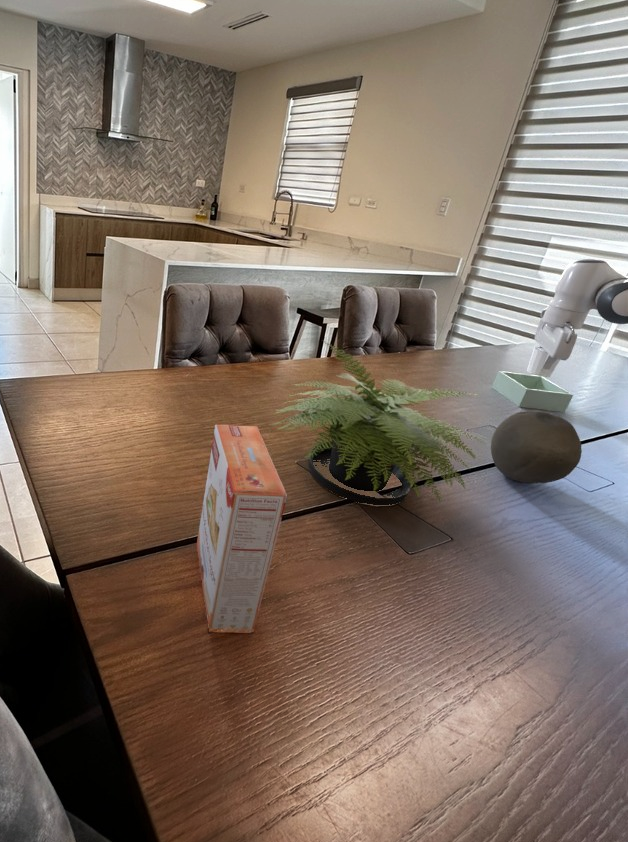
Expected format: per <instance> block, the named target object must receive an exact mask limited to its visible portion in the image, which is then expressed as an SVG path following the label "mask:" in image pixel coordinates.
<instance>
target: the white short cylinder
mask: <svg viewBox="0 0 628 842" xmlns="http://www.w3.org/2000/svg"><path fill="white" fill-rule="evenodd" d="M547 354H548V353H547V352H546V351H545V350H544V349H543V348H542V347H540V346H534V347H533V350H532V354H531V357H530V359H529V362H528V366H527V369H526V371H527V372H528V373H529V374H530V375H536V376H541V377H544V378H551V376H552V374H553V373H554V371H555V370H556V368H557V366H558V365H559V363H560V361H561V360H559V359H557V360H556V361H555V362H554V363H553V364H552V366H551V368H550V369H549V370H547V369H543V367H542V365H543V363H544V361H545V360H546V358H547Z"/></svg>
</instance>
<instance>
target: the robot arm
mask: <svg viewBox="0 0 628 842" xmlns="http://www.w3.org/2000/svg"><path fill="white" fill-rule="evenodd" d="M591 310H596V311H597V313H598V315H599V316H600V317H601V318H602V319H603V320H605V321H607V322H609V323H612V324H615V325H628V276H626V275H624V274H623V273H621V272H620V271H618V270H617V269H615V268H614V267H613V266H612V265H611V264H610V263H609V262H608V261H607V260H603V259H593V258H589V259H586V258H585V259H577V260H574V261H572V262H570V263H569V264H568V265H567V266H566V268H565V270H564V271H563V272H562V274H561V277H560V278H559V280H558V282H557V285H556V287H555V291H554V296H553V298H552V299H551V300H550V301H549V303H548V305H547V307H546V308H544V309H542V310H541V313H540V317H541V318H540V320H539V323H538V325H537V328H536V332H535V334H534V341H535V342H536V343H537V344H538V345H539V347H542V348H543V349H544V350H545V351H546V352H547V353H548V354H547V358H546V360H545V361H544V363H543V365H542V367H543V369H547V370H549V369H550V368H551V366H552V364H553V363H554V362H555V361H556V360H557V359H559V360H560V361H568V359H569V358H570V357H571V354H572V352H573V350H574V348H575V344H576V342H577V339H578V333H577V332H576V331H575V330H581V329H582V327H583V325H584V323H585V321H586V319H587V317H588V314H589V312H590V311H591Z"/></svg>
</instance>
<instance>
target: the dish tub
mask: <svg viewBox="0 0 628 842" xmlns="http://www.w3.org/2000/svg"><path fill="white" fill-rule="evenodd" d="M491 388H492V389H494V390H495V391H496V392H497V393H499V394H500V395H502V396H503V397H505V398H506V399H507V400H509V401H511V403H512V404H514V405H516V406H517V407H518V408H525V409H526V408H527V409H533V410H542V411H553V412H559V413H560V412H561V413H566V411H567V409H568V407H569V405H570V402H571V401H572V399H573V397H574V394H573V393H571V392H570V391H568V390H566V389H565V388H563V387H561V386H560V385H558V384H556V383H554V382H552V381H551V380H549V379H547V378H546V377H541V376H537V375H534V374H527V373H519V372H510V371H504V370H503V371H501V370H498V372H497V374H496V377H495V379H494V381H493V384H492V386H491Z"/></svg>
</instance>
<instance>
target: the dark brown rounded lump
mask: <svg viewBox="0 0 628 842" xmlns="http://www.w3.org/2000/svg"><path fill="white" fill-rule="evenodd" d="M582 452H583V449H582V442H581V438H580V436H579V434H578V432H577V430H576V428H575V427H574V425H573V424H572V423H571V422H569V421H568V420H567V419H565V417H562V416H559V415H557V414H555V413H553V412H552V413H551V412H548V411H546V410H540V409H529V410H522V411H519V412H515V413H514V414H511V415H510V416H508V417H507V418H505V419H504V420H503V421H502V422H501V423H500V424H499V425H497V427H496V428H495V430H494V432H493V435H492V437H491V441H490V454H491V458H492V461H493V463H494V465H495V467H496V469H497V470H498V471H499V472H500V473H501V474H503V475H504V476H506V477H507V478H509V479H511V480H513V481H516V482H519V483H523V484H530V485H531V484H532V485H533V484H547V483H552V482H556V481H559V480H560V481H561V480H562V479H564V478H566V477H567V476H569V475H570V474H571V473H572V472H573V471H574V470H575V469H576V467H577V466H578V465H579V463H580V461H581V458H582Z"/></svg>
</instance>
